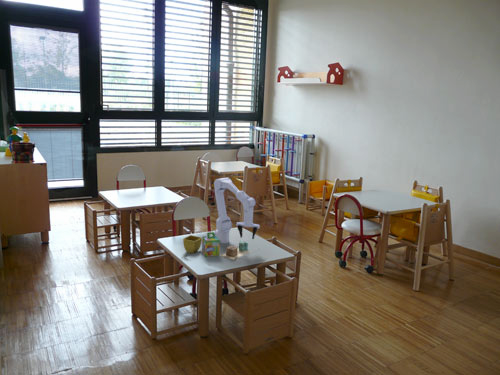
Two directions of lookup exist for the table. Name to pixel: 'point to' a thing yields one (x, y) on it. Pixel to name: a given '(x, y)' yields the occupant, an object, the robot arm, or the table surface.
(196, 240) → the flower pot
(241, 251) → the wooden tray
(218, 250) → the chalk box
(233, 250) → the walnut cube
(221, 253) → the lane rails
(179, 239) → the table surface
